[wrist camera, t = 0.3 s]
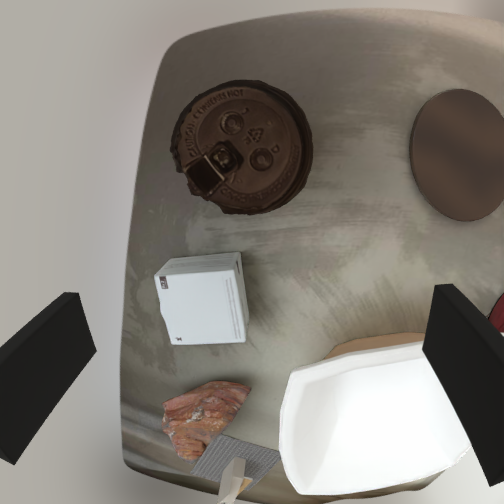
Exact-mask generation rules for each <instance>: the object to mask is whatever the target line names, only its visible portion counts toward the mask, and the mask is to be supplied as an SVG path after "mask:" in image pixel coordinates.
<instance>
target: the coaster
mask: <svg viewBox="0 0 504 504" xmlns="http://www.w3.org/2000/svg"><path fill="white" fill-rule="evenodd" d="M410 161H411V167H412V171H413V175H414V178H415V181H416V183H417V185H418V187H419V189H420V191H421V193H422V194H423V196H424V197H425V199H426V200H427V201H428V202H429V204H430V205H431V206H433V207H434V208H435V209H436V210H437V211H439V212H440V213H441V214H443V215H445V216H447V217H449V218H452V219H455V220H459V221H474V220H478V219H481V218H483V217H485V216H487V215H489V214H490V213H491V212H493V211H494V210H495V209H496V208H497V207H498V206H499V205H500V204H501V202H502V201H503V199H504V118H503V117H502V115H501V114H500V112H499V111H498V110H497V109H496V107H495V106H494V105H493V104H492V103H491V102H489V101H488V100H487V99H486V98H484V97H483V96H481V95H479V94H477V93H475V92H472V91H469V90H464V89H452V90H447V91H444V92H441V93H439V94H437V95H435V96H433V97H432V98H431V99H430V100H428V101H427V102H426V103H425V105H424V106H423V107H422V108H421V110H420V111H419V113H418V115H417V117H416V119H415V121H414V124H413V128H412V132H411V137H410Z"/></svg>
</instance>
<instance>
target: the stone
mask: <svg viewBox="0 0 504 504" xmlns="http://www.w3.org/2000/svg"><path fill="white" fill-rule="evenodd" d="M250 391H251V387H248V386H245V385H242V384H239V383H232V382H227V381H212V382H209V383H206V384H204V385H202V386H200V387H198V388H196V389H194V390H192V391H189V392H187V393H184V394H183V395H180V396H177V397H174V398H172V399H169V400H167V401H165V402H163V403H162V405H163V407H164V410H165V415H164V416H163V420H162V430H163V432H164V433H166V434H167V435H168V436H169V437H170V439H171V440H172V445H173V446H174V448H175V451H176V452H177V453H178V456H179V457H180V458H181V459H182V460H183V461H185V462H186V463H189V464H193V463H194V462H196V461H197V460H198V459H199V458H200V456H201V455H202V454H203V452H204V451H205V450H206V447H207V446H208V445H209V444H210V443H212V442H213V441H214V440H215V439H216V438H217V437H218V436H219V435H220V434H221V433H222V432H223V431H224V430H225V429H226V428H227V427H228V426H229V424H230V423H231V422H232V421H233V419H234V417H235V416H236V414H237V412H238V411H239V409H240V408H241V406H242V404H243V403H244V401H245V399H246V397H247V396H248V394H249V392H250Z"/></svg>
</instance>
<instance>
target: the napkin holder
mask: <svg viewBox="0 0 504 504" xmlns="http://www.w3.org/2000/svg"><path fill="white" fill-rule="evenodd" d="M246 463H247V460H246V459H244V458H240V457H237V456H236V457H234V458H233V459H232V460H231V461H230V462H229V464H228V465H227V466H226V467H225V469H224V470H223V471H222V474H221V479H220V483H221V485H220V490H219V495H218V501H217V504H220V503H222V502H224V503H229V504H233V503H234V500H235V498H236V496H237V495H238V494H239V493H240V492H241V491H242V490H243V489H245V488H246V487H247V486H248V485H250V484H251V483H252V482H253V481H254V479H253V478H252V477H248V476H245V471H246Z"/></svg>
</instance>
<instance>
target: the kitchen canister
mask: <svg viewBox="0 0 504 504" xmlns="http://www.w3.org/2000/svg"><path fill="white" fill-rule="evenodd" d="M489 321H490V322H491V323H492V324H493V325H494V326H495V327H496V329H497V330H498V331H499V332H500V333H504V294H503V295H502V296H501V298H500V299H499V301H498V302H497V304H496V305H495V307H494V309H493V311H492V313H491V315H490V317H489Z"/></svg>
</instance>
